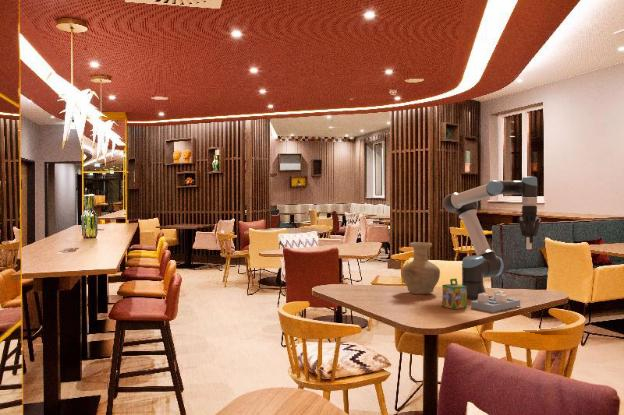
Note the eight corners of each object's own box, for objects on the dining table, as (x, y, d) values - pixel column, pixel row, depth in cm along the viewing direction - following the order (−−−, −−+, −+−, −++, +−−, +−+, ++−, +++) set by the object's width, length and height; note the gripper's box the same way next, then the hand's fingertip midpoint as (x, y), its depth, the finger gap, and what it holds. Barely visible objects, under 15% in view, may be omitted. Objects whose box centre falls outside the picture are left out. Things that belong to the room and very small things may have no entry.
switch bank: (492, 312, 263) (492, 305, 263) (470, 308, 274) (470, 300, 274) (520, 306, 278) (520, 299, 278) (498, 302, 288) (498, 295, 288)
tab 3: (502, 306, 270) (502, 294, 270) (495, 304, 274) (495, 293, 274) (506, 305, 273) (506, 293, 272) (499, 304, 276) (500, 292, 276)
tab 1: (484, 306, 271) (484, 293, 271) (477, 304, 274) (477, 292, 274) (488, 305, 273) (488, 293, 273) (482, 303, 276) (482, 292, 276)
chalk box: (454, 309, 270) (454, 281, 269) (441, 306, 278) (441, 278, 277) (467, 308, 274) (467, 279, 274) (454, 304, 282) (455, 277, 282)
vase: (397, 295, 309) (398, 244, 308) (405, 289, 329) (405, 241, 329) (437, 298, 301) (437, 245, 300) (442, 291, 322) (442, 242, 321)
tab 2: (500, 302, 279) (500, 291, 279) (493, 301, 283) (494, 289, 282) (504, 301, 281) (504, 290, 281) (498, 300, 285) (498, 289, 285)
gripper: (514, 205, 289) (514, 248, 289) (536, 205, 278) (536, 250, 279) (522, 205, 293) (522, 247, 294) (544, 205, 283) (544, 249, 283)
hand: (529, 249), depth 286 cm, fingers closed
